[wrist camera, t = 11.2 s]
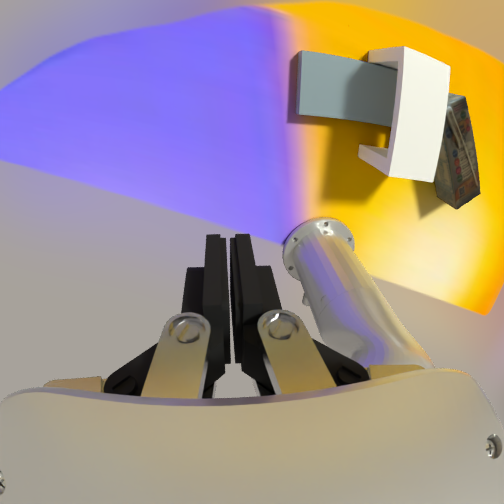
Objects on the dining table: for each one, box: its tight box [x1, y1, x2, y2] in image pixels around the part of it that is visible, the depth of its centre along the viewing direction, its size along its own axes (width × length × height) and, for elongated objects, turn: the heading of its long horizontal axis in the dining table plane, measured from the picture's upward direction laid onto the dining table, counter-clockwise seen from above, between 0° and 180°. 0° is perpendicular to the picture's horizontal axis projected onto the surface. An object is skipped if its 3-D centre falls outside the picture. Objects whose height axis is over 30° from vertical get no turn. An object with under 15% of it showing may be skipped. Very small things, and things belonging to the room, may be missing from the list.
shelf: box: [358, 46, 450, 182], centre depth 31 cm, size 17×8×9 cm, turn 178°
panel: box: [296, 51, 398, 127], centre depth 32 cm, size 9×16×2 cm, turn 89°
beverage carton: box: [434, 93, 480, 209], centre depth 36 cm, size 8×19×7 cm, turn 29°
